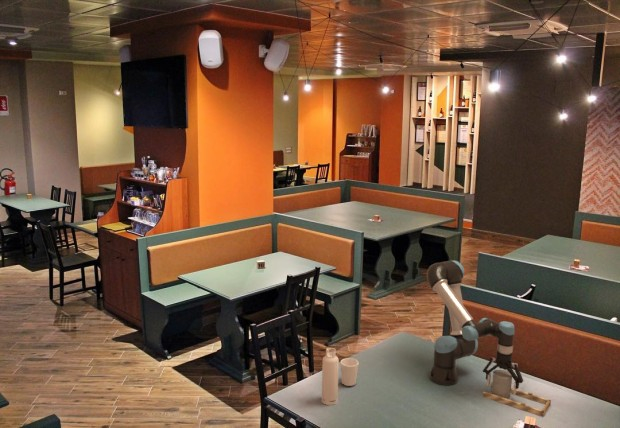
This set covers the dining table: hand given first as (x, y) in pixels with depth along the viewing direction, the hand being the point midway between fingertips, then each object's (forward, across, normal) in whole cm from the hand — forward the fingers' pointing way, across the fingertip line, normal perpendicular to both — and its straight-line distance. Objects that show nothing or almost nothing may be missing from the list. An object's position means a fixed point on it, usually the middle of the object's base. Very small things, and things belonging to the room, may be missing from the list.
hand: (501, 389), depth 284 cm
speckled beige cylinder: (+4, 0, 0) cm, 4 cm away
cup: (+3, -69, -40) cm, 80 cm away
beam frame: (+4, +8, 0) cm, 9 cm away
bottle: (+3, -67, -61) cm, 91 cm away
